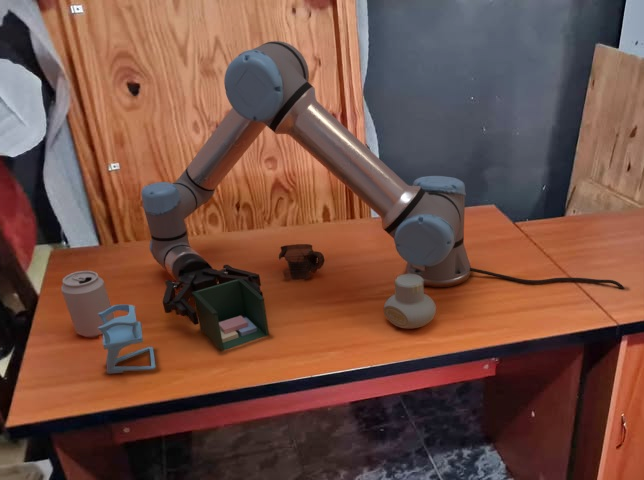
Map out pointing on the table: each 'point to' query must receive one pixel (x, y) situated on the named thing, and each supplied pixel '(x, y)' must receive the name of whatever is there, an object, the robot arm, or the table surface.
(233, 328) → the block
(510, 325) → the table surface
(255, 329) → the blue packet
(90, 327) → the can
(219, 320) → the open box
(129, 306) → the chair
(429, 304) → the air freshener
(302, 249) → the pottery mug
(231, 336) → the block
